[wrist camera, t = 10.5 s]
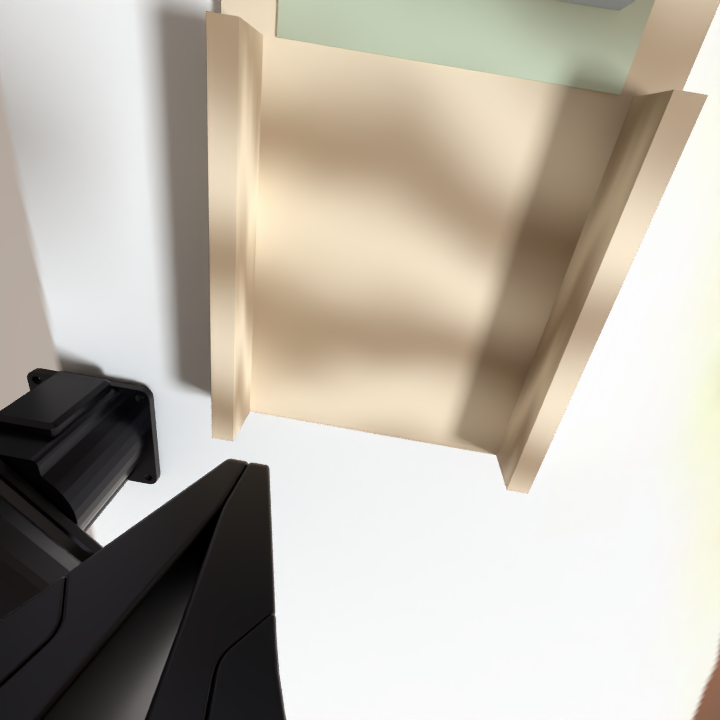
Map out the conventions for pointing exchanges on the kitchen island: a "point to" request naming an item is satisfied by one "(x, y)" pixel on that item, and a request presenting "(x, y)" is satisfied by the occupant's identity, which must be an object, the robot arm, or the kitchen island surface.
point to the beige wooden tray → (432, 206)
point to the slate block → (603, 3)
